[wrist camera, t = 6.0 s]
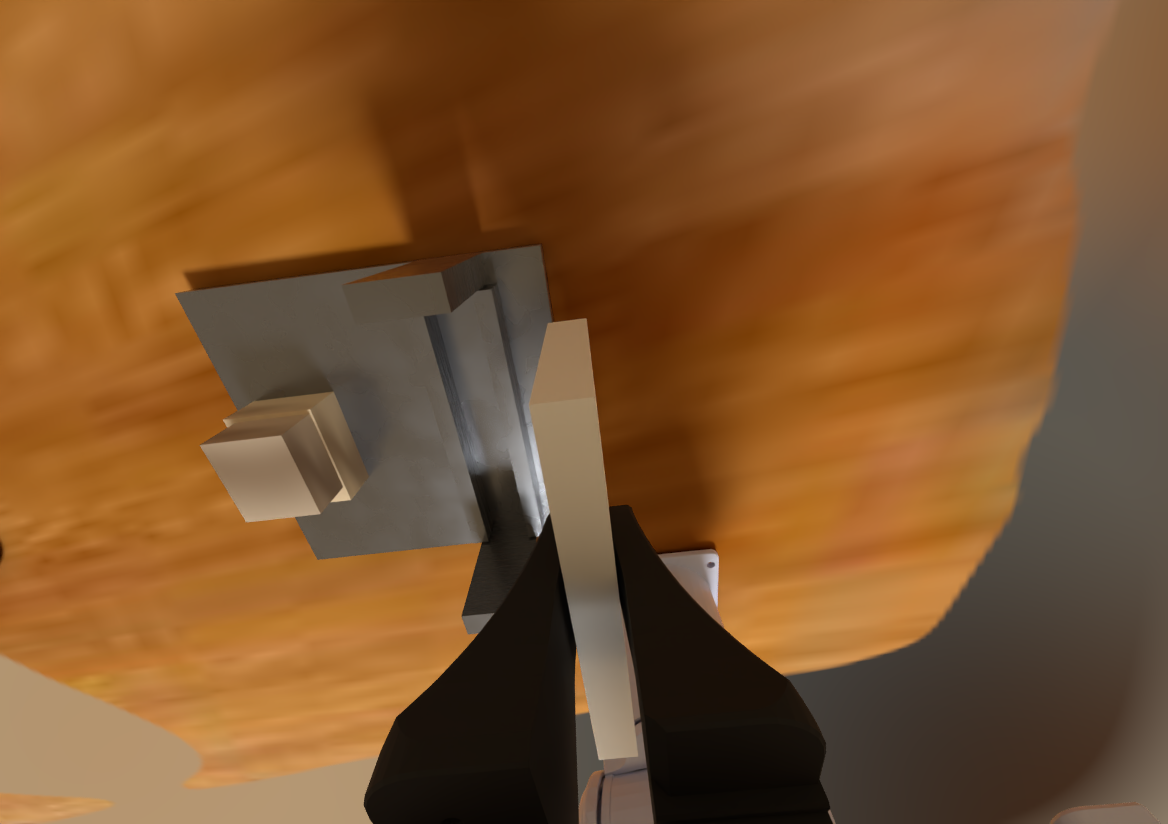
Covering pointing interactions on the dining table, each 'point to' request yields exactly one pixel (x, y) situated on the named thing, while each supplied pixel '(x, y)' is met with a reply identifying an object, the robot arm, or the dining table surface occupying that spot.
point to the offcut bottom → (329, 429)
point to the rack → (407, 397)
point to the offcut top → (274, 467)
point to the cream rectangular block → (583, 528)
